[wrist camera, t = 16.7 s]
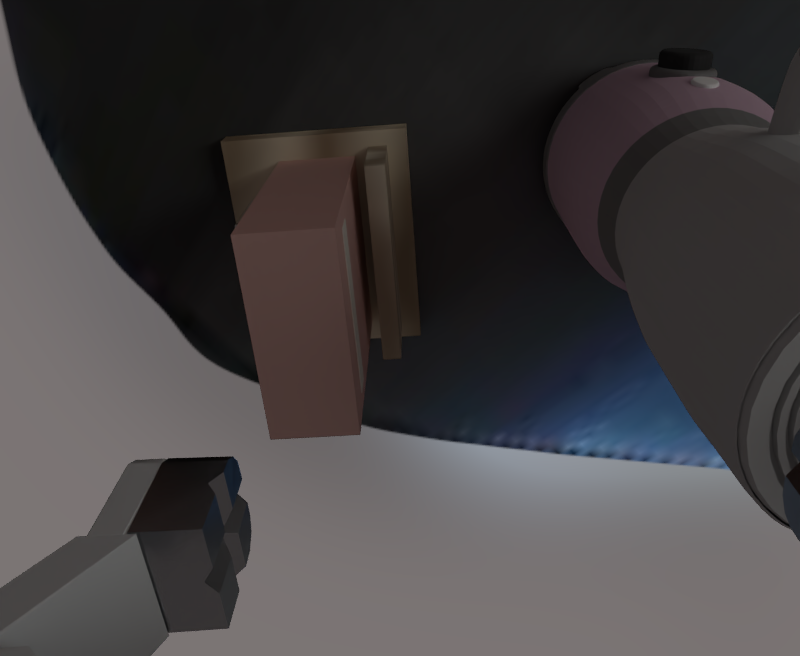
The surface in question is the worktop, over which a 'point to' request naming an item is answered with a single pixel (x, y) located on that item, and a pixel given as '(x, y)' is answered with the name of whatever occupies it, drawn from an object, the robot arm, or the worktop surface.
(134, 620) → the robot arm
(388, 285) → the beige panel with ridge
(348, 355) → the boxed book
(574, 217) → the blender
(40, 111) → the worktop surface
